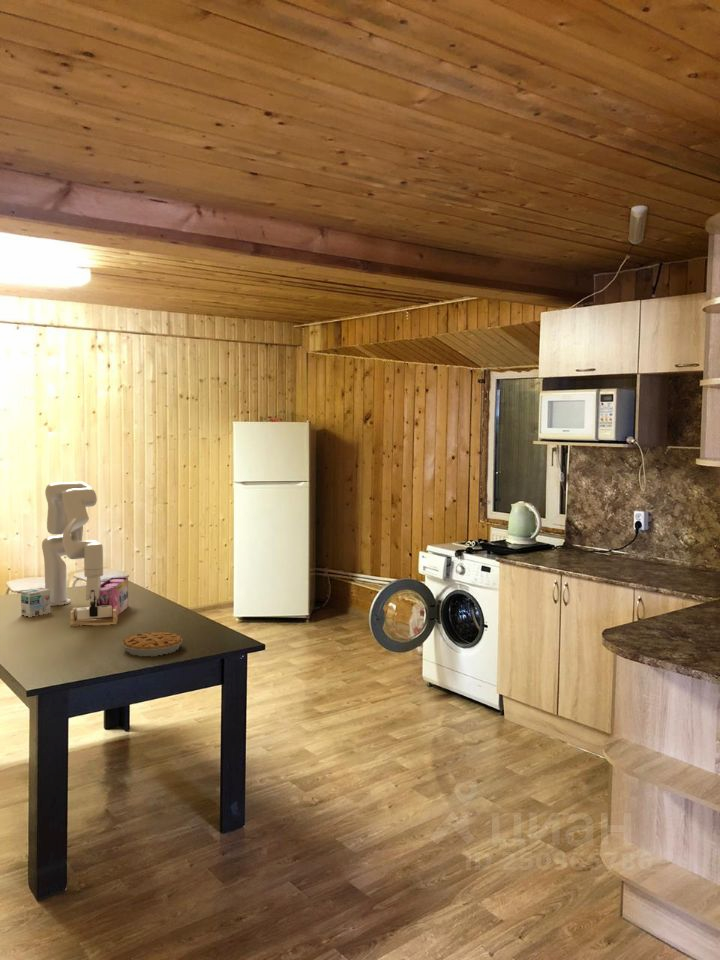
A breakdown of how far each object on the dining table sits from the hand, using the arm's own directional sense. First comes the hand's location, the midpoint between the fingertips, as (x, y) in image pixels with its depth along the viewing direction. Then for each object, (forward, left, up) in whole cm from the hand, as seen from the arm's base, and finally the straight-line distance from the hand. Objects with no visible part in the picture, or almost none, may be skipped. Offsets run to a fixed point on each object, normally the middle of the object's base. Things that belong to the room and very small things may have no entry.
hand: (94, 614), depth 335 cm
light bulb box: (-20, -27, -4) cm, 34 cm away
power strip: (0, 0, -1) cm, 1 cm away
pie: (+44, +26, -4) cm, 51 cm away
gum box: (-19, +6, -4) cm, 20 cm away
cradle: (0, 0, -4) cm, 4 cm away
